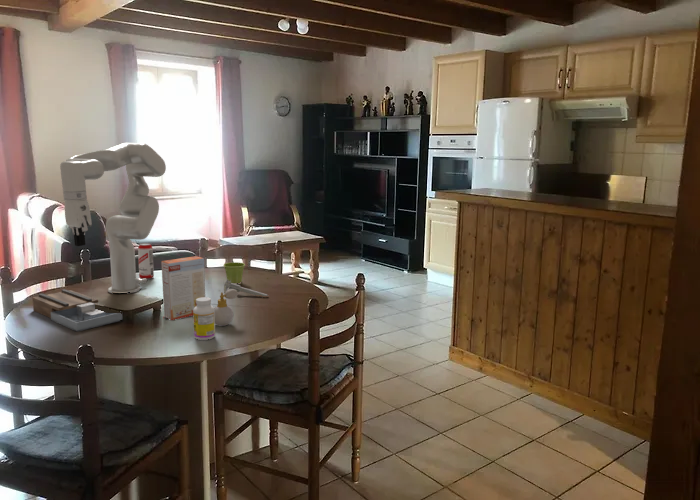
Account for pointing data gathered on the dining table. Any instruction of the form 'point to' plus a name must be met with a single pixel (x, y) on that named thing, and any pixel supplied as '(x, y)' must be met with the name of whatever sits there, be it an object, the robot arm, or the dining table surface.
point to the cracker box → (182, 286)
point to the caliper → (240, 288)
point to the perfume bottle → (224, 308)
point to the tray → (72, 322)
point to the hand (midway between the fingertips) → (80, 245)
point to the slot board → (59, 301)
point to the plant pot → (234, 271)
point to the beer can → (145, 261)
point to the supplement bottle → (204, 319)
